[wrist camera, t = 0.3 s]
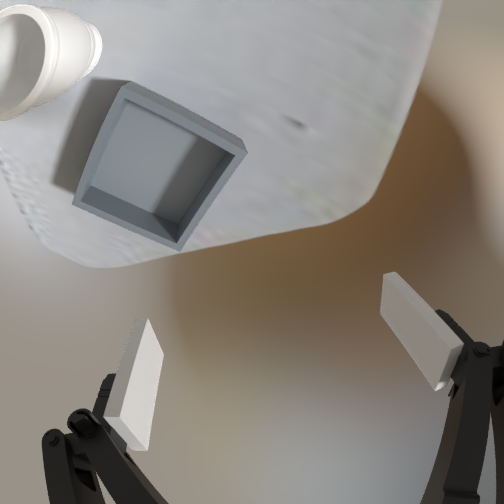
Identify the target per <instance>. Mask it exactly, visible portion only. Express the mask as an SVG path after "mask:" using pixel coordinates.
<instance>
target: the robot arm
mask: <svg viewBox="0 0 504 504" xmlns="http://www.w3.org/2000/svg"><path fill="white" fill-rule="evenodd" d="M383 276H384V277H383V288H382V300H381V310H380V314H381V315H382V317H383V318H384V320H385V321H386V322H387V324H388V325H389V326H390V328H391V329H392V330H393V332H394V333H395V335H396V336H397V337H398V339H399V340H400V341H401V343H402V344H403V346H404V347H405V349H406V350H407V351H408V353H409V354H410V355H411V357H412V358H413V360H414V361H415V363H416V364H417V366H418V367H419V368H420V370H421V371H422V373H423V374H424V376H425V377H426V379H427V380H428V382H429V383H430V385H431V386H432V388H433V389H434V391H436V390H438V389H440V388H443V387H445V386H447V384H448V382H449V380H450V378H452V379H453V381H454V384H453V386H452V388H451V390H450V392H449V394H448V396H450V395H451V398H450V403H449V409H448V413H447V418H446V423H445V427H444V431H443V435H442V439H441V443H440V447H439V450H438V454H437V457H436V460H435V464H434V467H433V470H432V473H431V476H430V479H429V482H428V484H427V487H426V490H425V493H424V495H423V498H422V500H421V503H420V504H479V503H480V496H479V495H478V494H477V488H478V484H479V480H480V476H481V471H482V466H483V461H484V456H485V450H486V445H487V438H488V430H489V422H490V412H491V418H492V425H493V432H494V444H495V455H496V456H495V457H496V484H497V485H496V504H504V341H503V343H502V346H496V347H489V346H488V345H487V344H485V343H483V342H474V341H473V340H472V339H471V338H470V337H469V336H468V334H467V333H466V332H465V331H464V330H463V329H462V328H461V327H460V326H458V324H457V323H456V322H455V321H454V320H453V319H452V318H451V317H450V315H449V314H447V313H446V312H444V311H442V310H440V309H439V310H436V311H434V310H433V309H432V308H431V307H430V306H429V305H428V304H427V303H426V302H425V301H424V300H423V299H422V298H421V297H420V296H419V295H418V294H417V293H416V292H415V291H414V290H413V289H412V288H411V287H410V286H409V285H408V284H407V283H406V282H405V281H404V280H403V279H402V278H401V277H400V276H399V275H398V274H397V273H396V272H391V273H387V274H384V275H383ZM163 356H164V354H163V352H162V350H161V348H160V345H159V343H158V341H157V338H156V336H155V334H154V332H153V329H152V327H151V324H150V322H149V319H148V318H145V319H137V320H135V322H134V325H133V328H132V331H131V333H130V336H129V339H128V341H127V344H126V347H125V350H124V353H123V356H122V359H121V362H120V364H119V367H118V370H117V373H116V374H108V375H107V377H106V378H105V379H104V380H103V382H102V385H101V387H100V391H99V393H98V398H97V399H96V402H95V405H94V408H93V411H92V413H91V412H90V411H89V410H88V409H78V410H76V411H74V412H73V413H72V414H71V415H70V416H69V418H68V421H67V425H68V428H69V429H70V430H71V431H72V432H73V433H69V434H65V435H64V434H63V433H62V432H61V431H60V430H58V429H51V430H49V431H47V432H46V433H45V434H44V436H43V438H42V452H43V461H44V469H45V478H46V484H47V490H48V496H49V501H50V504H105V501H104V498H103V495H102V492H101V488H100V485H99V482H98V478H97V475H96V472H97V474H98V476H99V477H100V479H101V481H102V482H103V484H104V486H105V487H106V489H107V490H108V492H109V494H110V495H111V497H112V498H113V500H114V501H115V503H116V504H168V502H167V501H166V500H165V499H164V498H163V497H162V496H161V495H160V493H159V492H158V491H157V490H156V489H155V488H154V486H153V485H152V484H151V483H150V481H149V480H148V479H147V478H146V477H145V475H144V474H143V473H142V472H141V470H140V469H139V468H138V466H137V465H136V464H135V462H134V461H133V459H132V458H131V457H130V455H129V454H128V453H127V452H126V447H127V445H128V446H129V447H130V448H131V449H132V450H138V451H139V450H140V451H148V445H149V438H150V431H151V424H152V418H153V411H154V406H155V399H156V394H157V388H158V382H159V377H160V372H161V366H162V361H163Z"/></svg>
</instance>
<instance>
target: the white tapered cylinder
mask: <svg viewBox="0 0 504 504" xmlns="http://www.w3.org/2000/svg"><path fill="white" fill-rule="evenodd" d="M101 52H102V39H101V35H100V33H99V31H98V30H97V28H96V27H95V26H93V25H92V24H90V23H88V22H85V21H84V20H83V19H81V18H79V17H78V16H77V15H75V14H74V13H72V12H70V11H67V10H65V9H61V8H56V7H38V6H35V5H31V4H18V5H13V6H10V7H7V8H5V9H3V10H1V11H0V121H6V120H10V119H13V118H15V117H17V116H20V115H21V114H23V113H25V112H26V111H28V110H29V109H30V108H32V107H35V106H38V105H41V104H44V103H46V102H48V101H50V100H52V99H54V98H56V97H57V96H59V95H60V94H62V93H63V92H65V91H66V90H67V89H68V88H69V87H71V86H72V85H73V84H74V83H76V82H77V81H78V80H80V79H82V78H83V77H85V76H86V75H88V74H89V73H90V72H91V71H92V70H93V68H94V67H95V66H96V64H97V62H98V60H99V58H100V55H101Z"/></svg>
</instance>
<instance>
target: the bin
mask: <svg viewBox="0 0 504 504" xmlns="http://www.w3.org/2000/svg"><path fill="white" fill-rule="evenodd" d="M247 153H248V152H247V150H246V148H245V145H244V143H243V141H242V140H241V139H240V138H238V137H236V136H235V135H233V134H231V133H230V132H228V131H226V130H224V129H223V128H221V127H219V126H217V125H216V124H214V123H212V122H210V121H209V120H207V119H205V118H203V117H201V116H200V115H198V114H196V113H194V112H192V111H190V110H188V109H187V108H185V107H183V106H181V105H179V104H177V103H175V102H173V101H171V100H169V99H167V98H165V97H163V96H161V95H159V94H157V93H155V92H153V91H151V90H149V89H147V88H145V87H143V86H141V85H139V84H137V83H135V82H132V81H131V82H129V83H127V84H125V85H123V86H121V88H120V90H119V92H118V93H117V95H116V97H115V99H114V101H113V103H112V105H111V107H110V109H109V111H108V114H107V116H106V118H105V120H104V122H103V124H102V126H101V129H100V131H99V133H98V135H97V138H96V140H95V142H94V145H93V147H92V150H91V152H90V155H89V157H88V160H87V162H86V165H85V168H84V170H83V173H82V176H81V179H80V181H79V184H78V187H77V190H76V193H75V196H74V199H73V202H72V205H74V206H77V207H79V208H81V209H83V210H85V211H88V212H90V213H92V214H94V215H97V216H99V217H101V218H103V219H106V220H108V221H110V222H112V223H115V224H117V225H119V226H121V227H124V228H126V229H128V230H131V231H133V232H135V233H138V234H140V235H142V236H144V237H147V238H149V239H151V240H154V241H156V242H158V243H161V244H163V245H165V246H168V247H170V248H173V249H175V250H177V251H181V249H182V248H183V246H184V245H185V243H186V242H187V240H188V239H189V237H190V235H191V234H192V232H193V231H194V229H195V228H196V226H197V225H198V223H199V222H200V220H201V219H202V217H203V216H204V214H205V213H206V211H207V210H208V209H209V207H210V206H211V204H212V203H213V201H214V200H215V198H216V197H217V195H218V194H219V193H220V191H221V190H222V188H223V187H224V185H225V184H226V183H227V181H228V180H229V178H230V177H231V175H232V174H233V173H234V171H235V170H236V168H237V167H238V166H239V164H240V163H241V161H242V160H243V159H244V157H245V156H246V155H247Z"/></svg>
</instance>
